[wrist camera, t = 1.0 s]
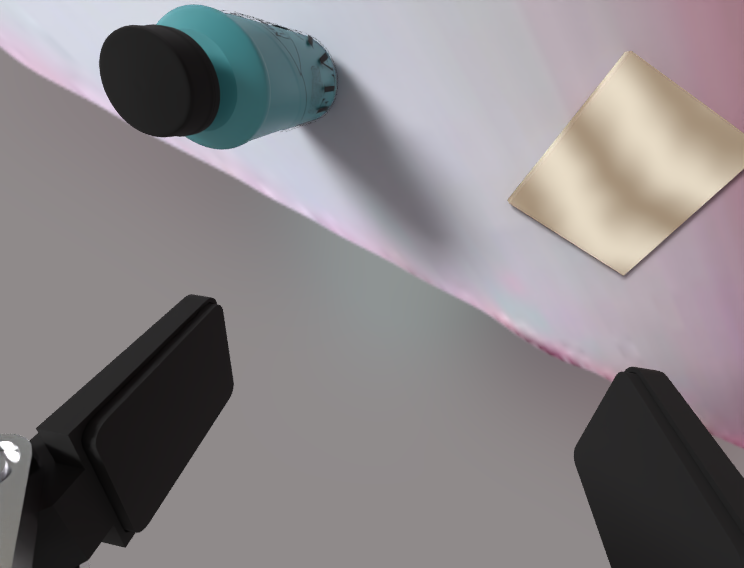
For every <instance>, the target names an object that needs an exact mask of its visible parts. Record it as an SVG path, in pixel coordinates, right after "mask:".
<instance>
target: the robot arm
mask: <svg viewBox="0 0 744 568" xmlns="http://www.w3.org/2000/svg"><path fill="white" fill-rule="evenodd" d="M233 385H234V383H233V376H232V369H231V362H230V355H229V348H228V341H227V335H226V328H225V321H224V315H223V309H222V307H221V306H220V305H217V302H216V300H215V299H214V298H211V297H204V296H198V295H192V294H191V295H188V296H186V297H185V298H184V299H183V300H181V301H180V302H179V303H178V304H177V305H176V306H175V307H174V308H172V309H171V310H170V311H169V312H168V313H167V314H165V315H164V316H163V317H162V318H161V319H160V320H159V321H157V322H156V323H155V324H154V325H153V326H152V327H151V328H149V329H148V330H147V331H146V332H145V333H144V334H143V335H142V336H140V337H139V338H138V339H137V340H136V341H135V342H134V343H132V344H131V345H130V346H129V347H128V348H127V349H126V350H125V351H123V352H122V353H121V354H120V355H119V356H118V357H116V358H115V359H114V360H113V361H112V362H111V363H110V364H109V365H107V366H106V367H105V368H104V369H103V370H102V371H101V372H99V373H98V374H97V375H96V376H95V377H94V378H93V379H92V380H90V381H89V382H88V383H87V384H86V385H85V386H84V387H82V388H81V389H80V390H79V391H78V392H77V393H76V394H74V395H73V396H72V397H71V398H70V399H69V400H68V401H67V402H65V403H64V404H63V405H62V406H61V407H60V408H59V409H57V410H56V411H55V412H54V413H53V414H52V415H51V416H49V417H48V418H47V419H46V420H45V421H44V422H43V423H41V424H40V425H39V426H38V427H37V428H36V429H37V431H38V434H37V435H35V436H34V437H33V438H32V439H31V440H30V441H28V440H27V439H26V438H25V437H23V436H20V435H16V434H0V568H90V557H91V556H92V554H93V553H94V551H95V550H96V549H97V547H98V546H99V545H100V543H101V542H104V543H109V544H112V545H116V546H121V547H126V546H127V545H128V543H129V541H130V540H131V538H132V537H133V535H134V534H135V532H136V533H137V532H141V531H142V530H143V529H144V528H146V526H147V525H148V524H149V522H150V521H151V519H152V518H153V516H154V515H155V513H156V511H157V510H158V508H159V507H160V505H161V504H162V502H163V501H164V499H165V497H166V496H167V494H168V493H169V491H170V490H171V488H172V487H173V485H174V483H175V482H176V480H177V479H178V477H179V476H180V474H181V473H182V471H183V470H184V468H185V466H186V465H187V463H188V462H189V460H190V459H191V457H192V456H193V454H194V452H195V451H196V449H197V448H198V446H199V445H200V443H201V442H202V440H203V439H204V437H205V436H206V434H207V432H208V431H209V429H210V428H211V426H212V425H213V423H214V421H215V420H216V418H217V417H218V415H219V414H220V412H221V411H222V409H223V408H224V406H225V404H226V403H227V401H228V400H229V398H230V396H231V394H232V391H233ZM574 461H575V465H576V468H577V471H578V473H579V476H580V479H581V482H582V485H583V488H584V491H585V494H586V496H587V499H588V502H589V505H590V508H591V511H592V514H593V517H594V519H595V522H596V525H597V528H598V531H599V534H600V536H601V539H602V542H603V545H604V548H605V551H606V554H607V557H608V560H609V562H610V565H611V568H744V478H743V477H742V475H741V474H740V473H739V472H738V470H737V469H736V468H735V466H734V465H733V464H732V462H731V461H730V459H729V458H728V457H727V455H726V454H725V453H724V452H723V450H722V449H721V448H720V446H719V445H718V444H717V442H716V441H715V440H714V438H713V437H712V436H711V434H710V433H709V432H708V430H707V429H706V428H705V426H704V425H703V424H702V422H701V421H700V420H699V418H698V417H697V416H696V414H695V413H694V412H693V410H692V409H691V408H690V406H689V405H688V404H687V402H686V401H685V400H684V398H683V397H682V396H681V394H680V393H679V392H678V390H677V389H676V388H675V386H674V385H673V384H672V382H671V381H670V380H669V378H668V377H667V376H666V375H665V374H664V373H663V372H660V371H656V370H650V369H644V368H638V367H629V368H628V369H626V370H625V372H619V373H618V374H617V375H616V377H615V378H614V380H613V382H612V384H611V386H610V387H609V389H608V391H607V392H606V394H605V396H604V398H603V399H602V401H601V403H600V405H599V406H598V408H597V410H596V412H595V413H594V415H593V417H592V419H591V420H590V422H589V424H588V426H587V428H586V429H585V431H584V433H583V434H582V436H581V438H580V440H579V441H578V443H577V445H576V447H575V450H574Z"/></svg>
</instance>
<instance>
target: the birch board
mask: <svg viewBox="0 0 744 568" xmlns="http://www.w3.org/2000/svg"><path fill="white" fill-rule="evenodd" d="M743 169H744V133H743V132H741V131H740V130H738V129H737V128H736V127H734V126H733V125H732V124H730V123H729V122H728V121H726V120H725V119H723V118H722V117H721V116H719V115H718V114H717V113H715V112H714V111H713V110H711V109H710V108H708V107H707V106H706V105H704V104H703V103H702V102H700V101H699V100H697V99H696V98H695V97H693V96H692V95H691V94H689V93H688V92H687V91H685V90H684V89H682V88H681V87H680V86H678V85H677V84H676V83H674V82H673V81H672V80H670V79H669V78H667V77H666V76H665V75H663V74H662V73H661V72H659V71H658V70H657V69H655V68H654V67H652V66H651V65H650V64H648V63H647V62H646V61H644V60H643V59H641V58H640V57H639V56H637V55H636V54H635V53H633V52H632V51H629V52H625V53H624V54H623V56H622V57H621V58H620V59H619V61H618V62H617V63H616V64H615V66H614V67H613V68H612V69H611V71H610V72H609V73H608V74H607V76H606V77H605V78H604V79H603V81H602V82H601V83H600V84H599V86H598V87H597V88H596V89H595V91H594V92H593V93H592V94H591V96H590V97H589V98H588V99H587V101H586V102H585V103H584V105H583V106H582V107H581V108H580V110H579V111H578V112H577V113H576V115H575V116H574V117H573V118H572V120H571V121H570V122H569V123H568V125H567V126H566V127H565V128H564V130H563V131H562V132H561V133H560V135H559V136H558V137H557V138H556V140H555V141H554V142H553V143H552V145H551V146H550V147H549V148H548V150H547V151H546V152H545V154H544V155H543V156H542V157H541V159H540V160H539V161H538V162H537V164H536V165H535V166H534V167H533V169H532V170H531V171H530V172H529V174H528V175H527V176H526V177H525V179H524V180H523V181H522V182H521V184H520V185H519V186H518V187H517V189H516V190H515V191H514V192H513V194H512V195H511V196H510V197H509V199H508V202H509V203H510V204H511V205H513V206H514V207H516V208H518V209H519V210H521V211H522V212H524V213H525V214H527V215H529V216H530V217H532V218H533V219H535V220H536V221H538V222H540V223H541V224H543V225H544V226H546V227H548V228H549V229H551V230H552V231H554V232H555V233H557V234H559V235H560V236H562V237H563V238H565V239H566V240H568V241H570V242H571V243H573V244H574V245H576V246H578V247H579V248H581V249H582V250H584V251H585V252H587V253H589V254H590V255H592V256H593V257H595V258H596V259H598V260H600V261H601V262H603V263H604V264H606V265H607V266H609V267H611V268H612V269H614V270H615V271H617V272H619V273H620V274H622V275H623V276H624V275H625V274H626V273H627V272H628V271H630V270H631V269H632V268H633V267H634V266H635V265H636V264H637V263H638V262H640V261H641V260H642V259H643V258H644V257H645V256H646V255H647V254H649V253H650V252H651V251H652V250H653V249H654V248H655V247H656V246H658V245H659V244H660V243H661V242H662V241H663V240H664V239H665V238H667V237H668V236H669V235H670V234H671V233H672V232H673V231H674V230H676V229H677V228H678V227H679V226H680V225H681V224H682V223H683V222H684V221H686V220H687V219H688V218H689V217H690V216H691V215H692V214H693V213H695V212H696V211H697V210H698V209H699V208H700V207H701V206H702V205H704V204H705V203H706V202H707V201H708V200H709V199H710V198H711V197H713V196H714V195H715V194H716V193H717V192H718V191H719V190H720V189H722V188H723V187H724V186H725V185H726V184H727V183H728V182H729V181H730V180H732V179H733V178H734V177H735V176H736V175H737V174H738V173H739V172H741V171H742V170H743Z"/></svg>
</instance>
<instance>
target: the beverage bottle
mask: <svg viewBox="0 0 744 568" xmlns="http://www.w3.org/2000/svg"><path fill="white" fill-rule="evenodd" d="M222 11H224V10H222ZM234 12H235V11H234ZM237 13H238V12H237ZM231 14H233V13H231ZM231 14H227V13H223V12H221V11H219V10H217V9H214V8H211V7H207V6H203V5H194V4H193V5H184V6H181V7H177V8H175V9H173V10H171V11H170V12H168V13H167V14H166V15H164V16H163V17H162V18H161V19H160V20H159V21H158V23H157V24H156V25H145V26H140V25H129V26H124V27H121V28H119V29H117V30H115V31H114V32H112V33H111V34H110V35H109V36H108V37H107V38H106V40H105V42H104V43H103V46H102V49H101V53H100V60H99V67H100V76H101V80H102V84H103V87H104V90H105V92H106V94H107V96H108V98H109V100H110V102H111V104H112V105H113V107H114V108H115V110H116V111H117V112H118V114H119V115H120V116H121V117H122V118H123V119H124V120H125V121H126V122H127V123H128V124H130V125H131V126H132V127H134V128H135V129H137V130H139V131H141V132H143V133H145V134H148V135H152V136H156V137H172V136H179V137H181V136H185V137H187V138H188V139H190V140H192V141H193V142H195V143H198V144H200V145H202V146H205V147H209V148H213V149H231V148H235V147H238V146H241V145H243V144H245V143H247V142H248V141H251V140H253V139H256V138H259V137H262V136H265V135H268V134H271V133H274V132H276V131H279V130H284V129H288V128H291V127H294V126H297V125H300V124H303V123H306V122H309V121H312V120H315V119H318V118H319V117H320V116H322V115H323V114H324V113H325V112H326V111H327V110H329V107H330V106H331V105H332V102H333V100H334V97H335V93H336V87H337V89H338V86H337V80H338V76H337V79H336V72H337V71H336V72H335V68H336V67H335V68H334V65H333V62H334V61H333V62H332V60H331V58H330V56H329V54H330V53H329V54H328V53H327V52H326V49H324V48H323V47H322V46H321V45H320V44H321V43H320V41H319V40H318V42H319V43H320V44H319V43H318V42H317V41H315V40H314V38H312V37H311V36H309V35H308V36H305V35H302V34H300V33H299V34H298V32H297V33H295V31H297V30H293V31H294V32H291V30H290V29H291V28H290V29H287V28H286V27H285V28H284V26H283V27H280V26H279V25H278V24H277V25H274V23H273V24H272V25H271V26H270V25H268V24H270V23H269V22H267V23H268V24H266V23H264V22H262V21H264V20H262V21H261V20H259V21H261V22H262V23H260V22H257V21H255V19H246V18H244V17H242V16H243V14H241V13H240V14H241V15H242V16H240V17H239V13H238V15H237V16H236V13H235V14H234V15H231ZM247 16H248V15H247ZM247 16H246V17H247ZM250 17H251V16H250ZM250 17H249V18H250ZM253 18H254V17H253ZM256 19H257V18H256ZM253 20H254V21H253ZM257 20H258V19H257ZM274 26H275V27H274ZM277 27H278V28H277ZM281 28H282V29H281ZM284 29H285V30H284ZM289 30H290V31H289ZM300 32H301V31H300ZM301 33H302V32H301ZM323 46H324V45H323ZM324 47H325V46H324ZM327 51H328V50H327ZM336 95H337V94H336ZM330 109H331V108H330ZM327 113H328V112H327ZM327 113H326V114H327ZM326 114H325V115H326ZM325 115H324V116H325ZM320 118H321V117H320ZM315 122H316V121H315ZM310 123H311V122H310ZM310 123H309V124H310ZM312 123H313V122H312ZM306 125H307V124H306ZM297 128H298V127H297ZM293 129H294V128H293ZM293 129H292V130H293ZM289 131H290V130H289ZM286 132H287V131H286Z"/></svg>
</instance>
